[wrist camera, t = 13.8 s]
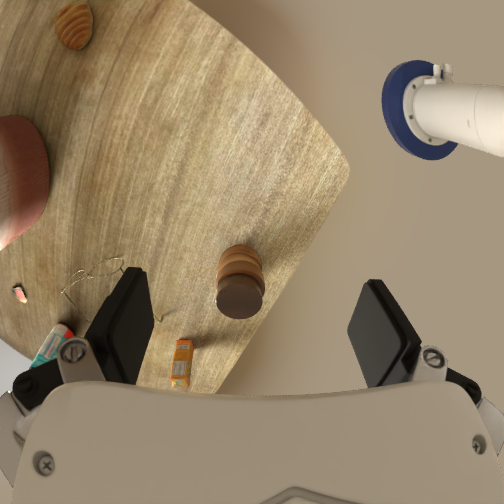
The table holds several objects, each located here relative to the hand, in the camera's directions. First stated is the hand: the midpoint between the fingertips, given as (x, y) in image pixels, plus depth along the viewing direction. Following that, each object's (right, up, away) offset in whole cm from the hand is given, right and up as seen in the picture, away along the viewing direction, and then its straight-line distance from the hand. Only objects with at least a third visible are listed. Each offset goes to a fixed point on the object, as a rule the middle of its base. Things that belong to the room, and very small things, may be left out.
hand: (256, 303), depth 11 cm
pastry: (-27, +37, +11) cm, 47 cm away
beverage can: (-45, -17, +40) cm, 62 cm away
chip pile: (-2, 0, +32) cm, 32 cm away
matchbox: (-56, -8, +35) cm, 66 cm away
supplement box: (-14, -17, +41) cm, 46 cm away
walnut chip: (-2, -3, +26) cm, 26 cm away
